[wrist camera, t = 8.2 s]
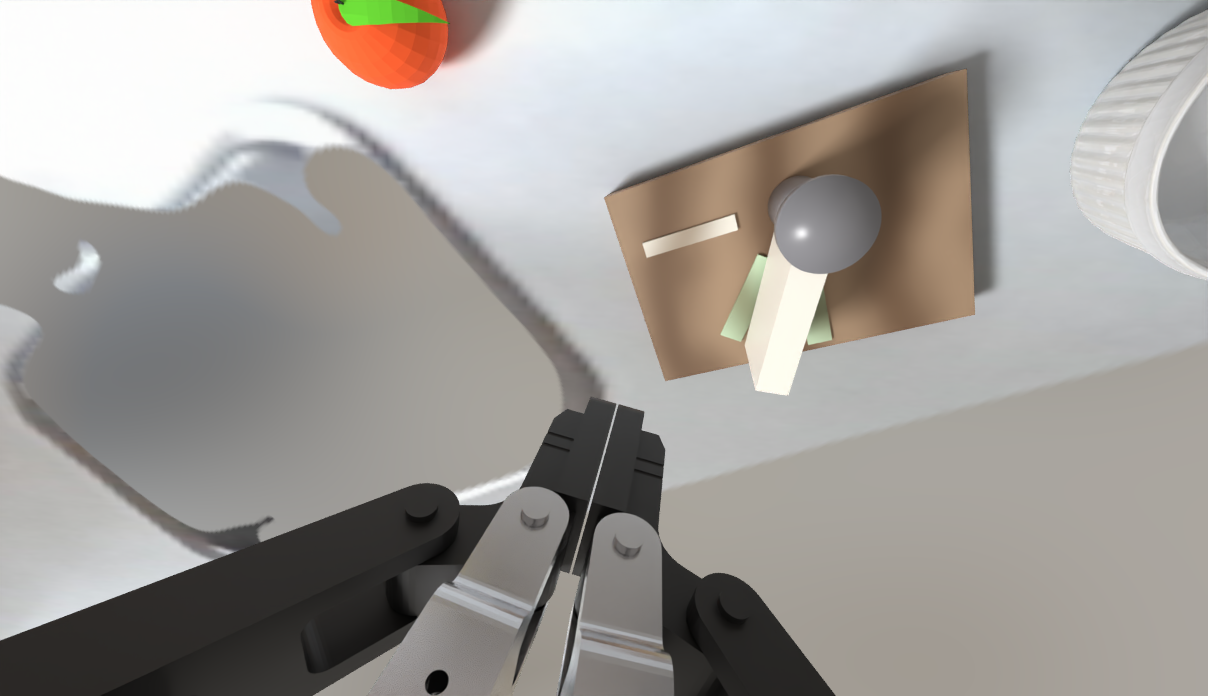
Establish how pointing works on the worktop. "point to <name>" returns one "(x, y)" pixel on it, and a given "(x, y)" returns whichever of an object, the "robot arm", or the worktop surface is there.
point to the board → (744, 229)
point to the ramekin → (1152, 152)
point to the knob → (804, 266)
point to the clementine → (385, 38)
